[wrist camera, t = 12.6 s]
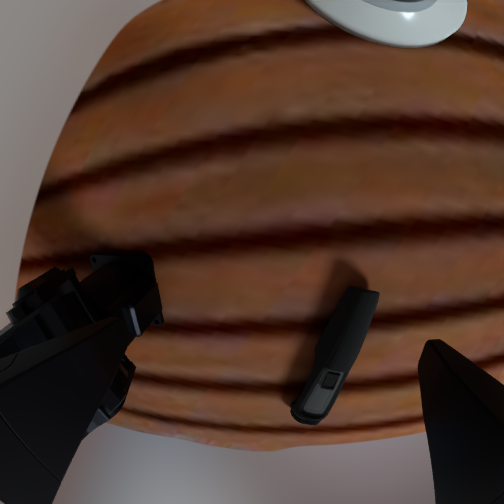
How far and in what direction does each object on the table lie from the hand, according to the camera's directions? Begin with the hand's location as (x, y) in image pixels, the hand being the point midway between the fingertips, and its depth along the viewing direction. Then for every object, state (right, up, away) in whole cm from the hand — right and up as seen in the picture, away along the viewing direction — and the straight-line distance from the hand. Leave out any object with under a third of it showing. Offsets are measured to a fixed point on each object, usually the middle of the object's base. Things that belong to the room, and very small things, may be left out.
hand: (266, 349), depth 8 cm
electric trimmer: (+6, -6, +16) cm, 18 cm away
